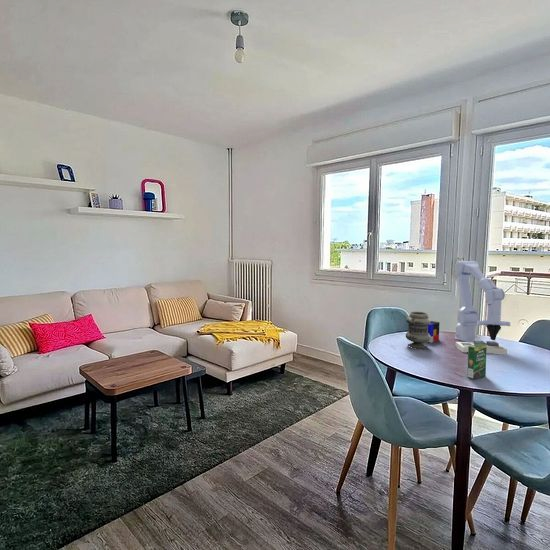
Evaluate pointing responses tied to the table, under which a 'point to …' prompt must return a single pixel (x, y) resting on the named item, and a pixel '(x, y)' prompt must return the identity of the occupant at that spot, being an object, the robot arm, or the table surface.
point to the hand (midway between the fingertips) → (492, 339)
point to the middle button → (479, 342)
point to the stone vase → (418, 329)
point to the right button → (492, 343)
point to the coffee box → (477, 361)
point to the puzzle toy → (433, 331)
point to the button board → (489, 350)
